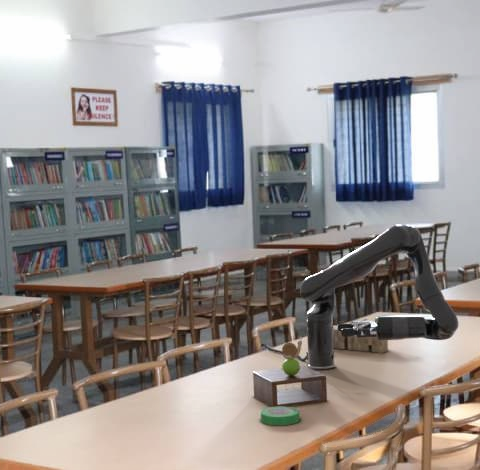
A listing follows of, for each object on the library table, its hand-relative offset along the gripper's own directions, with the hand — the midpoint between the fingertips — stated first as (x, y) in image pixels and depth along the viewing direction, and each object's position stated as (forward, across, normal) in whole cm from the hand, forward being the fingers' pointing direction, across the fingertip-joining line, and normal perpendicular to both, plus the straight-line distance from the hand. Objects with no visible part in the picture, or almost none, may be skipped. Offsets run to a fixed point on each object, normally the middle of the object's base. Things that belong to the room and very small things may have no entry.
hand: (339, 330), depth 293 cm
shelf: (+16, +2, +21) cm, 27 cm away
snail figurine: (+15, +4, +13) cm, 21 cm away
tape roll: (+21, +25, +21) cm, 39 cm away
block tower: (-14, -74, +22) cm, 78 cm away
